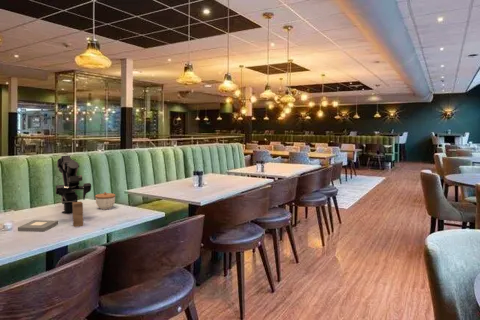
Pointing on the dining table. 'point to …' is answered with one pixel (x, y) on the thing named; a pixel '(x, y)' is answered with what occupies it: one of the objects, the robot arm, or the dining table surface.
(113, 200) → the lidded bowl
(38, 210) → the dining table surface
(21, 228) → the foundation slab
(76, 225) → the walnut pillar
